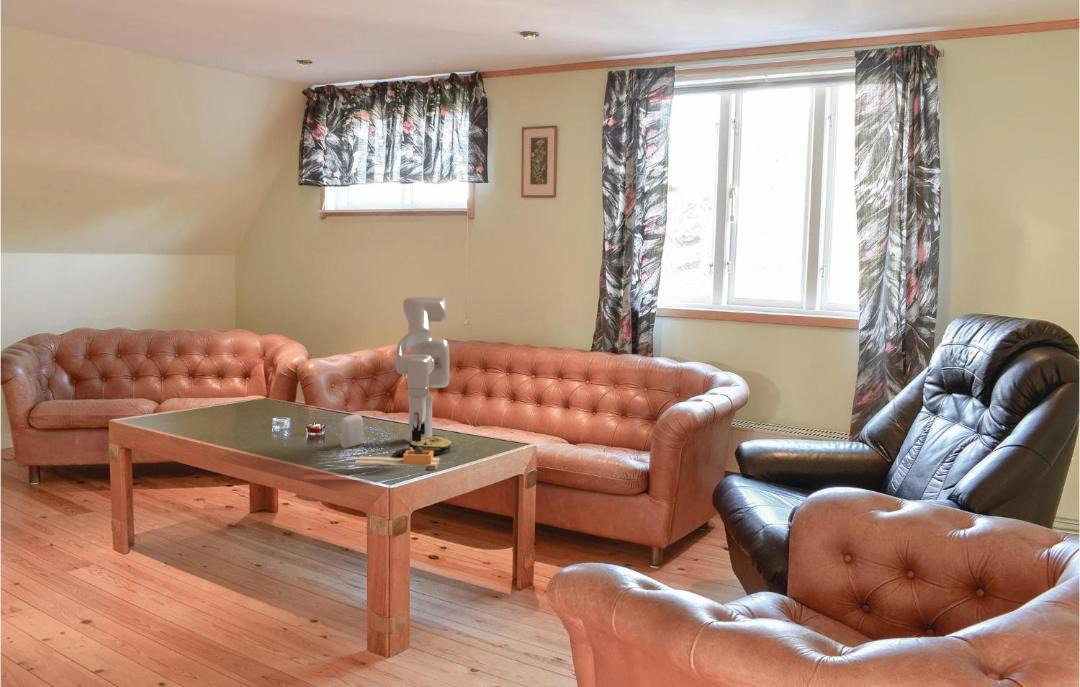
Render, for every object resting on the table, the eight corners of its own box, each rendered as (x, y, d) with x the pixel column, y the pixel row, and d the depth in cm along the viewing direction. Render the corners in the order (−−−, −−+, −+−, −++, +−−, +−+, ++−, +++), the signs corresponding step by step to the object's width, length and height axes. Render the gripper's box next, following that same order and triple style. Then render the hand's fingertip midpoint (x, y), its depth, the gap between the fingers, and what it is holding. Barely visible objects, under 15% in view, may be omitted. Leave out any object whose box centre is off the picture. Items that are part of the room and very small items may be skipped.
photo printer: (347, 448, 349) (347, 417, 348) (339, 447, 351) (339, 416, 350) (364, 443, 358) (364, 413, 357) (356, 442, 360) (356, 412, 359)
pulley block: (382, 440, 334) (437, 429, 358) (380, 455, 335) (436, 442, 359) (407, 452, 326) (463, 439, 349) (406, 466, 327) (461, 453, 350)
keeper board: (359, 460, 331) (359, 442, 330) (439, 461, 331) (439, 443, 330) (352, 468, 319) (352, 449, 318) (435, 469, 319) (435, 450, 318)
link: (406, 458, 328) (406, 450, 328) (433, 459, 328) (433, 450, 328) (403, 463, 321) (403, 454, 321) (430, 463, 321) (430, 455, 321)
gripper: (411, 387, 330) (411, 431, 333) (404, 396, 313) (404, 443, 316) (431, 387, 330) (431, 431, 333) (425, 396, 313) (425, 443, 316)
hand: (418, 437), depth 324 cm, fingers open, 9 cm apart
